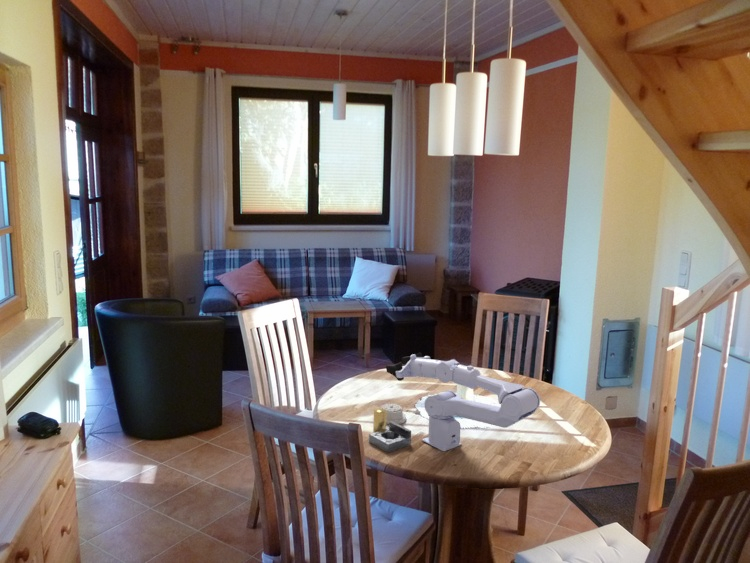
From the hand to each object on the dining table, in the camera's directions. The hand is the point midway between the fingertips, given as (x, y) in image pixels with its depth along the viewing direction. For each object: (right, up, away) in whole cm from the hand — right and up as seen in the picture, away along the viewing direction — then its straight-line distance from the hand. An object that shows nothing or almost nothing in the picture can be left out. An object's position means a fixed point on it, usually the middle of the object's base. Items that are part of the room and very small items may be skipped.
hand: (395, 364), depth 195 cm
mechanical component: (-1, -20, +6) cm, 21 cm away
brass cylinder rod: (-5, -21, -4) cm, 22 cm away
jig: (-2, -22, -13) cm, 26 cm away
